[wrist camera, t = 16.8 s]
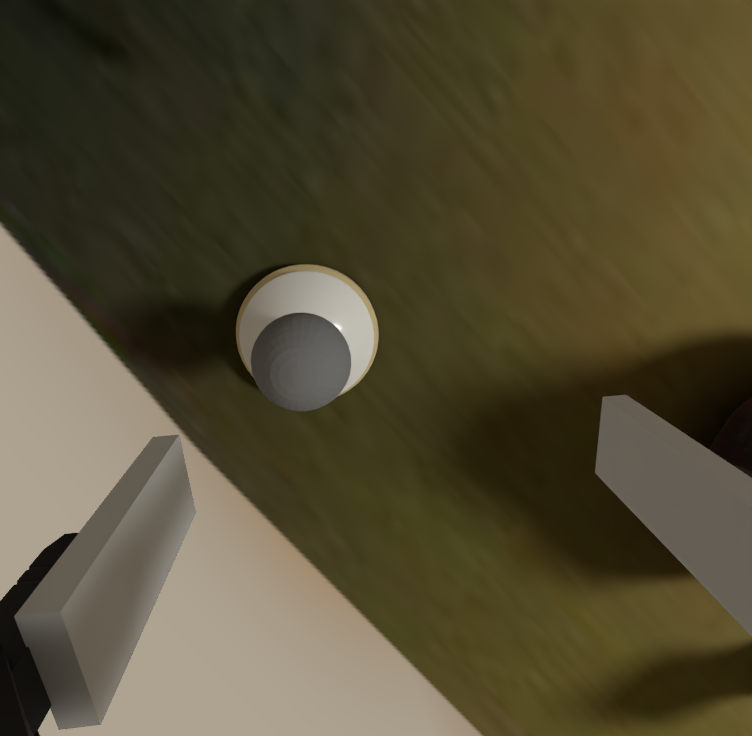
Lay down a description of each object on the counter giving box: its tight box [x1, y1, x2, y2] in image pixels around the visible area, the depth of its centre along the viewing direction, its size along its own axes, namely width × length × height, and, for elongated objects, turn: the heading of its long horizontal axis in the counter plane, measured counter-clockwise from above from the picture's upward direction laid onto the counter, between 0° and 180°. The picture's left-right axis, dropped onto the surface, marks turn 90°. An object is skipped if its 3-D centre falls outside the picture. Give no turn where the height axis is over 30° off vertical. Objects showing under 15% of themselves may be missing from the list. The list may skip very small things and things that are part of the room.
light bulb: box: [251, 313, 351, 411], centre depth 31 cm, size 6×6×10 cm
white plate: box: [236, 263, 378, 396], centre depth 37 cm, size 11×11×2 cm
